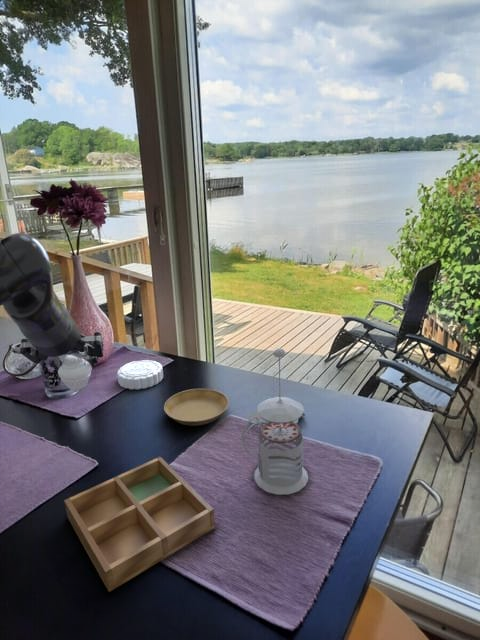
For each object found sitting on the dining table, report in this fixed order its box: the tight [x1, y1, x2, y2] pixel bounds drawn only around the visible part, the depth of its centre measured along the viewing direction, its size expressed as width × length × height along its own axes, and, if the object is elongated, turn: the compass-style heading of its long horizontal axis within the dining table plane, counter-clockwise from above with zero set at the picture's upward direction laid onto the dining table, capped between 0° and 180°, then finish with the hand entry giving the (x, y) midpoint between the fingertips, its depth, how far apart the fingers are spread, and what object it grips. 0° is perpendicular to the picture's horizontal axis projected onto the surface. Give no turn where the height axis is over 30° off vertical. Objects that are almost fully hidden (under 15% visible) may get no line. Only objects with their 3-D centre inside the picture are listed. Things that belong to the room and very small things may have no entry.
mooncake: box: [116, 359, 164, 391], centre depth 119 cm, size 12×12×4 cm
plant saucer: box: [163, 388, 230, 427], centre depth 101 cm, size 15×15×3 cm
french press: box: [241, 347, 309, 496], centre depth 76 cm, size 10×12×25 cm
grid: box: [63, 456, 216, 593], centre depth 70 cm, size 17×17×4 cm
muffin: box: [57, 354, 93, 391], centre depth 85 cm, size 6×6×7 cm
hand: (75, 362), depth 86 cm, fingers closed on muffin, 6 cm apart
